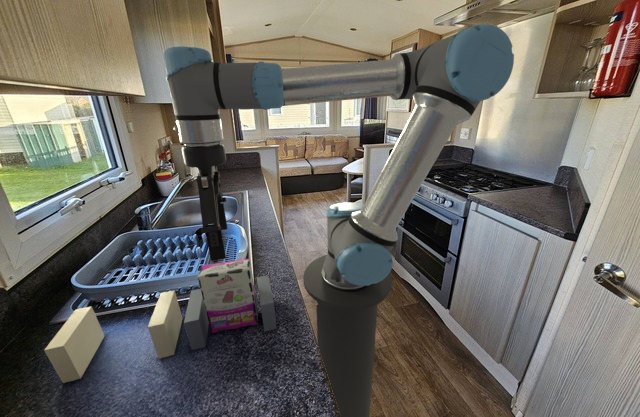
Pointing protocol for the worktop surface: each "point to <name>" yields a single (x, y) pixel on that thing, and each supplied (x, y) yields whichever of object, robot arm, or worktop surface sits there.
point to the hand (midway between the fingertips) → (220, 242)
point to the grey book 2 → (266, 303)
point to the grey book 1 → (196, 320)
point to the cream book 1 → (75, 344)
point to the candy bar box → (229, 295)
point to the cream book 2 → (165, 324)
